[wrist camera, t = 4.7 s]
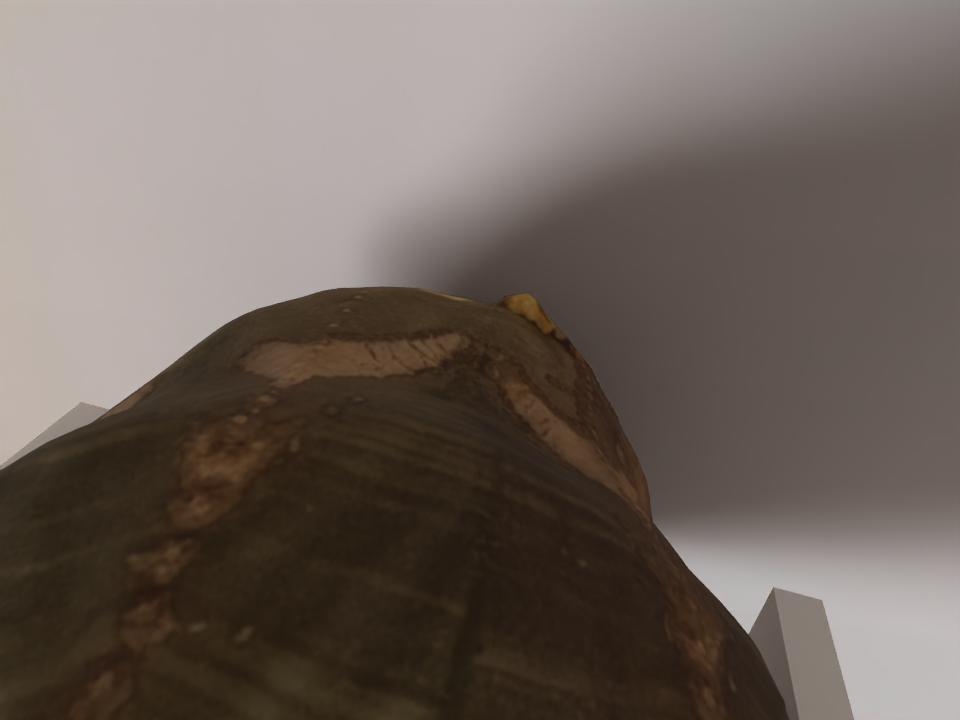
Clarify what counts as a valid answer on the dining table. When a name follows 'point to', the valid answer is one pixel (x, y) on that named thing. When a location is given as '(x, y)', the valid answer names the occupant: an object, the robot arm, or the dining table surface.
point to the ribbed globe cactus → (359, 536)
